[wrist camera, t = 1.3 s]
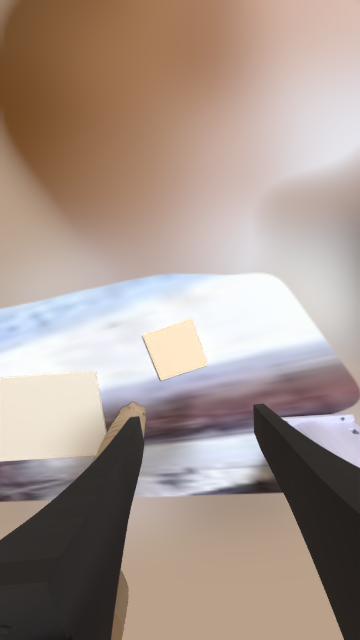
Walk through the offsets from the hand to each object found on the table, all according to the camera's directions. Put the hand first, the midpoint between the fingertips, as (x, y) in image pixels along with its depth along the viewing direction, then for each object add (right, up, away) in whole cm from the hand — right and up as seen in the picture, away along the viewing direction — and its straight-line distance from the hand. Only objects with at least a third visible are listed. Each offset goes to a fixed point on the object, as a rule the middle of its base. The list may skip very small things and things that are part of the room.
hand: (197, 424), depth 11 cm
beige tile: (-2, +3, +11) cm, 11 cm away
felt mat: (-21, -6, +12) cm, 25 cm away
